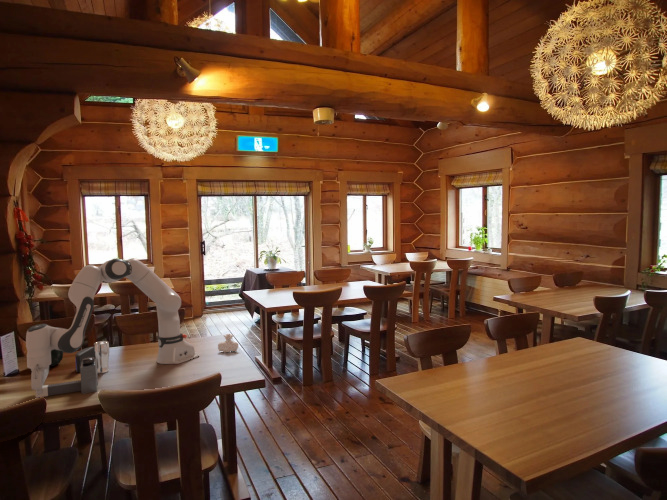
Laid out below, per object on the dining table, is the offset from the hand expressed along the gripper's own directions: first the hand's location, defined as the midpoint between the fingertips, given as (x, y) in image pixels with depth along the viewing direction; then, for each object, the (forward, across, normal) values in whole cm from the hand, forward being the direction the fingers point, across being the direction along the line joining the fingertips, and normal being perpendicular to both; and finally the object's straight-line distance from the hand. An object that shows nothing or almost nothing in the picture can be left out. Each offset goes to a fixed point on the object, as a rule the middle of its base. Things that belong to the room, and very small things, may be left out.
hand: (40, 392), depth 190 cm
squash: (+2, +47, +4) cm, 47 cm away
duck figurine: (+2, +26, -89) cm, 93 cm away
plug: (+2, 0, -7) cm, 7 cm away
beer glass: (+2, +23, -23) cm, 33 cm away
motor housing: (+2, 0, -19) cm, 19 cm away
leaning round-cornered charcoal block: (+2, +33, -16) cm, 36 cm away
